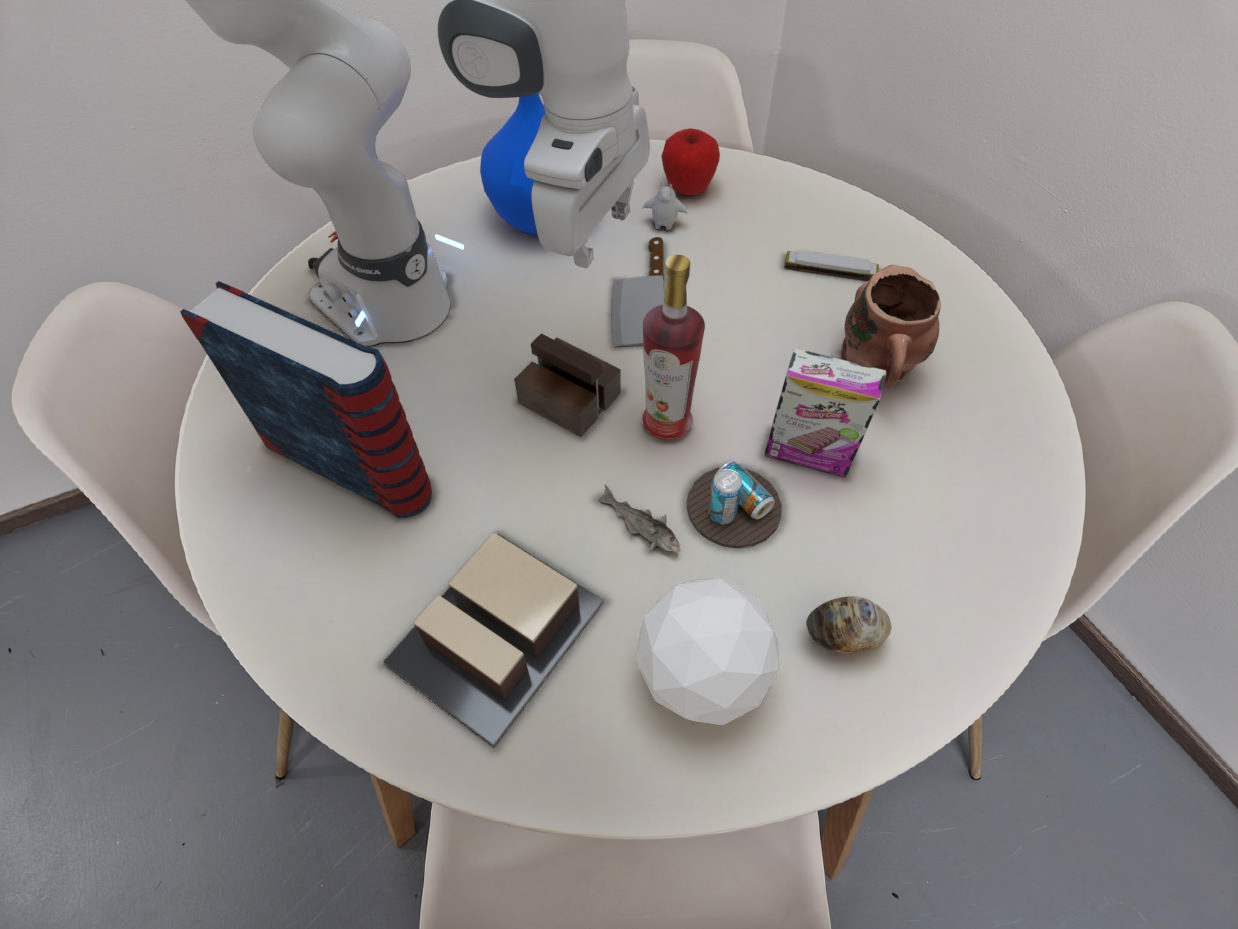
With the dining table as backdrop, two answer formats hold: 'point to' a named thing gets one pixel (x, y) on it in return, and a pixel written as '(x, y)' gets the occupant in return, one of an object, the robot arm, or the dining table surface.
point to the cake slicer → (567, 363)
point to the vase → (513, 165)
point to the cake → (500, 633)
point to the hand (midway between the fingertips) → (603, 239)
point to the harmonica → (831, 264)
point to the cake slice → (471, 646)
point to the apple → (690, 160)
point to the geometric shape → (708, 651)
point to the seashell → (849, 624)
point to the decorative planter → (892, 322)
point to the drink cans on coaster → (734, 506)
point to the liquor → (671, 355)
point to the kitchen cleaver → (637, 299)
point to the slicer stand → (567, 394)
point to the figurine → (665, 207)
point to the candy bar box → (824, 411)
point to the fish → (644, 523)
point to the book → (314, 397)
